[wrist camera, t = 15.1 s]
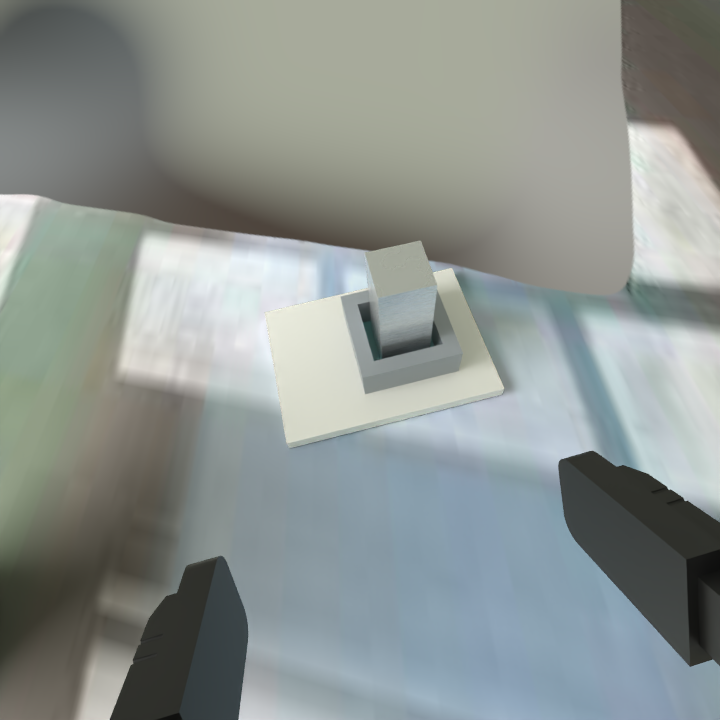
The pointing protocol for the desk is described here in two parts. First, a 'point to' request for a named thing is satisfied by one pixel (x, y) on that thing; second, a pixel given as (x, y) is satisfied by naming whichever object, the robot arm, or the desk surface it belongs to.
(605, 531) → the robot arm
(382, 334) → the grainy grey brick
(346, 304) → the docking board
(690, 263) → the desk surface
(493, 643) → the desk surface
